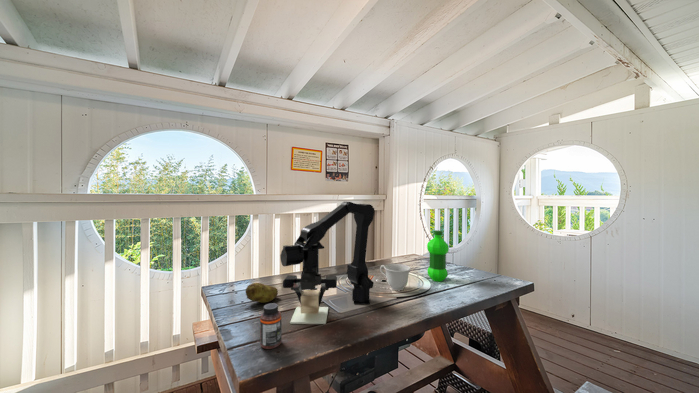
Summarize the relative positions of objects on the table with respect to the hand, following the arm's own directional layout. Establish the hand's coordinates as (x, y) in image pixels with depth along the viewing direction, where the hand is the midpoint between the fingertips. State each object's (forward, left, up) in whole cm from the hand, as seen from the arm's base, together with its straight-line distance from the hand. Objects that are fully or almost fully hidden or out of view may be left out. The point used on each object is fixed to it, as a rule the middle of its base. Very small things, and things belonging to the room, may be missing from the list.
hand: (310, 305), depth 96 cm
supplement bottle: (+9, +18, -4) cm, 21 cm away
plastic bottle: (-59, -40, -4) cm, 71 cm away
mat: (0, 0, -4) cm, 4 cm away
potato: (+21, -12, -4) cm, 25 cm away
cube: (0, 0, -2) cm, 2 cm away
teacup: (-35, -28, -4) cm, 45 cm away
